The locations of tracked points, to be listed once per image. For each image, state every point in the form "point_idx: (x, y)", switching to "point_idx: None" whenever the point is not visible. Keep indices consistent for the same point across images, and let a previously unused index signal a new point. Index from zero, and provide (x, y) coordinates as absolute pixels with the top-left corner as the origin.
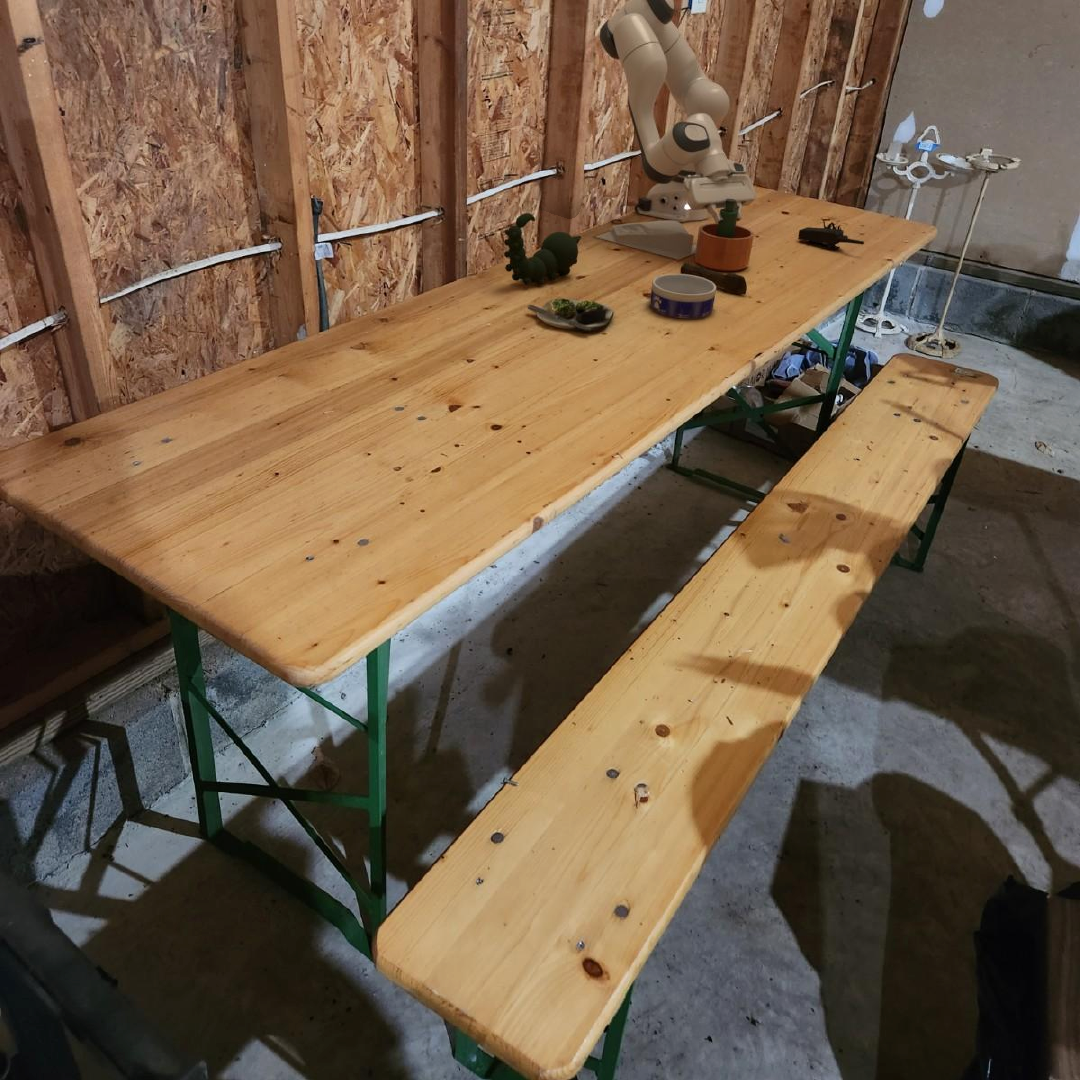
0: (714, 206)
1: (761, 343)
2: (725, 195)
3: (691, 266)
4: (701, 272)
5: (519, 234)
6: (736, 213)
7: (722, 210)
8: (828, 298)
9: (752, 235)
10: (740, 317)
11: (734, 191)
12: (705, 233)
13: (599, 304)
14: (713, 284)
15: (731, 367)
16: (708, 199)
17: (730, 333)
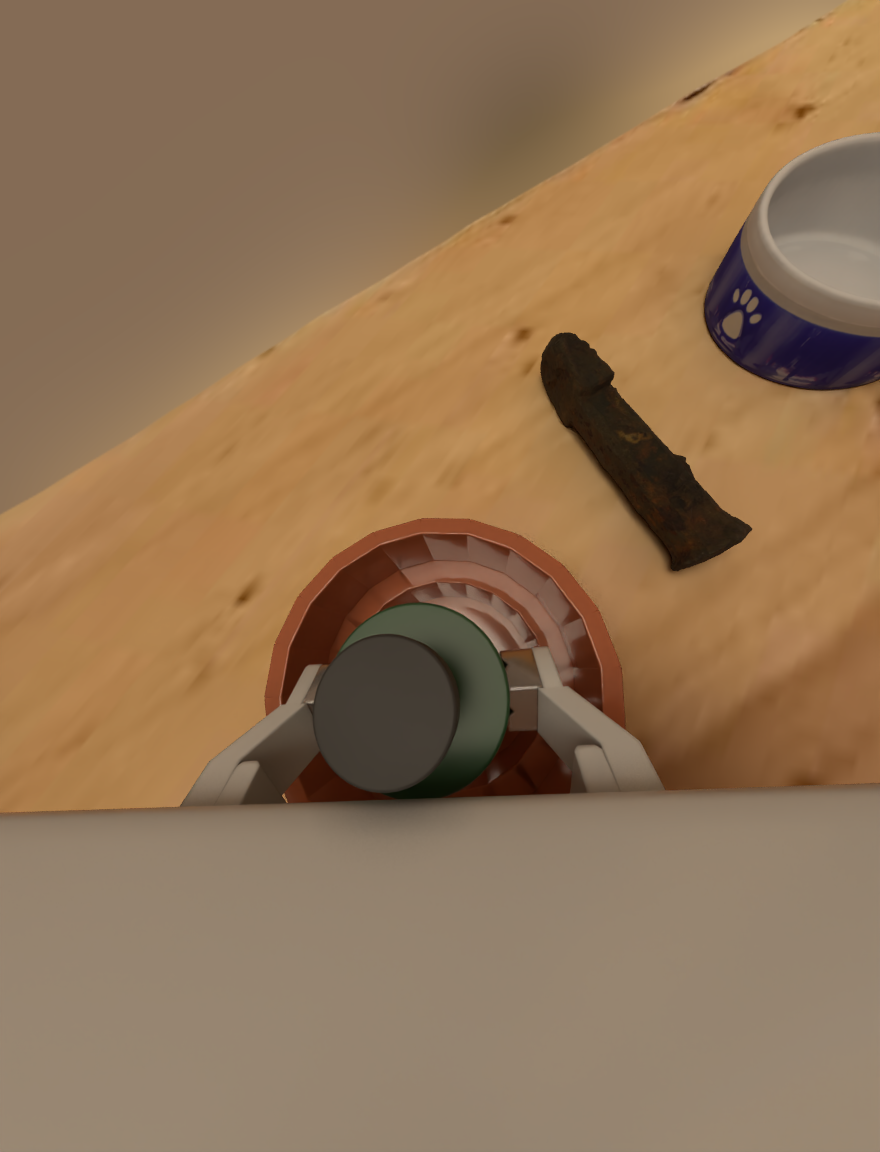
0: (604, 757)
1: (657, 135)
2: (379, 915)
3: (710, 507)
4: (678, 456)
5: None
6: (385, 609)
7: (482, 723)
8: (308, 341)
9: (328, 568)
10: (636, 250)
11: (103, 1021)
12: (614, 661)
13: None
14: (767, 207)
15: (788, 50)
16: (790, 838)
17: (714, 175)
